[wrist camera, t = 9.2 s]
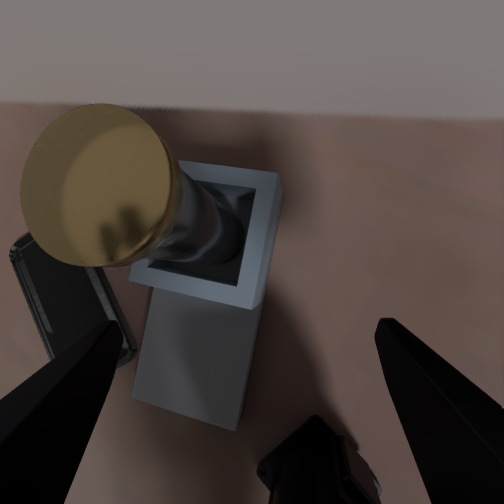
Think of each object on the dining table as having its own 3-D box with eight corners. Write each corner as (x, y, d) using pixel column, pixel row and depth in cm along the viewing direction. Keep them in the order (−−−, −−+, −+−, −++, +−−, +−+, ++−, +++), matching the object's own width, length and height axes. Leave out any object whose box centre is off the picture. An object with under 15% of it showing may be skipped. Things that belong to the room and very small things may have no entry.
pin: (237, 278, 21) (134, 289, 8) (177, 258, 22) (0, 238, 9) (258, 214, 21) (189, 122, 8) (197, 196, 22) (49, 90, 9)
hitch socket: (240, 421, 22) (221, 464, 17) (141, 390, 23) (98, 421, 19) (283, 194, 22) (278, 172, 17) (184, 180, 24) (154, 156, 19)
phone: (68, 206, 25) (136, 357, 23) (78, 209, 26) (143, 353, 24) (5, 249, 26) (63, 398, 24) (17, 250, 27) (73, 392, 25)
